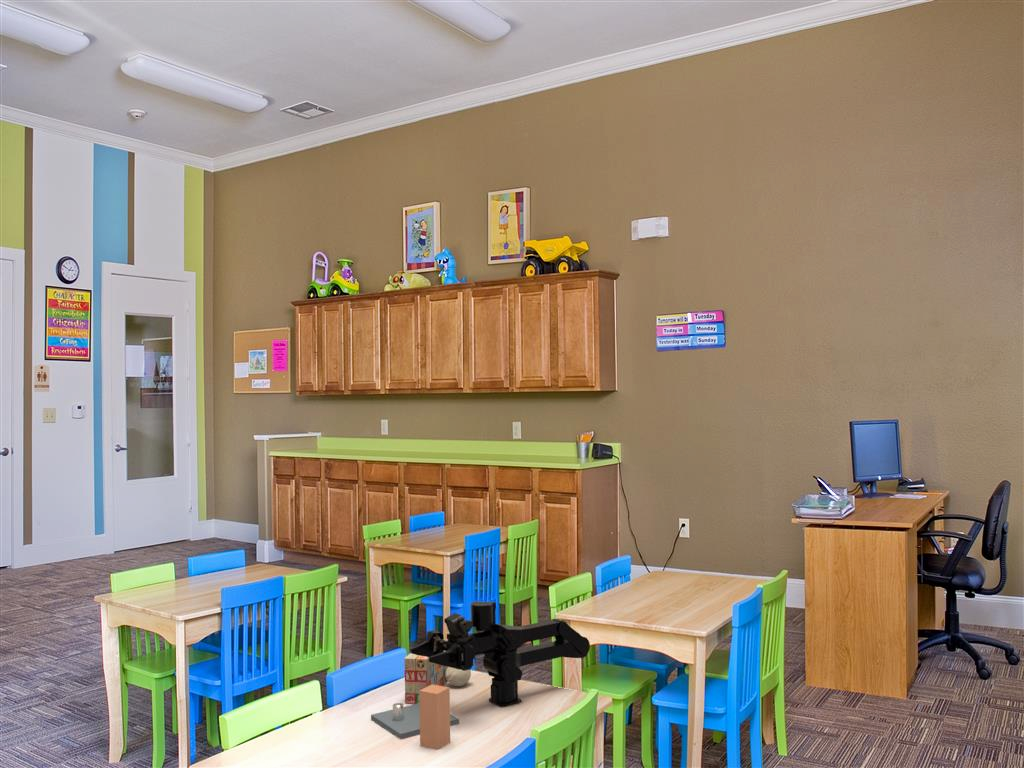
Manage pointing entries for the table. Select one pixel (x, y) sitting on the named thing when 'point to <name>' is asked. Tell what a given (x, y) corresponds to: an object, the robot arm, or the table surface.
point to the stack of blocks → (421, 676)
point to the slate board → (404, 721)
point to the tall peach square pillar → (434, 716)
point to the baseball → (457, 676)
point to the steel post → (398, 712)
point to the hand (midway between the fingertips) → (419, 655)
